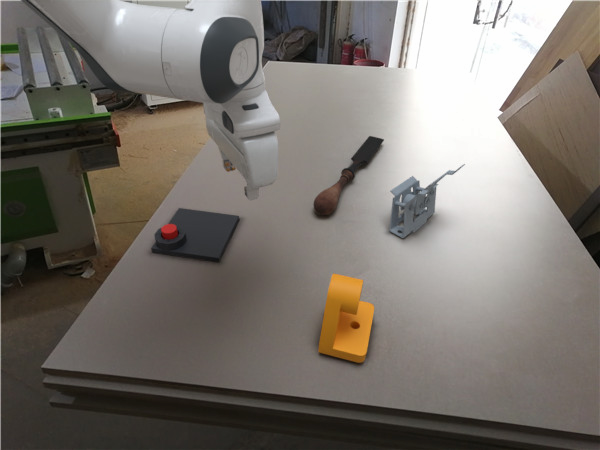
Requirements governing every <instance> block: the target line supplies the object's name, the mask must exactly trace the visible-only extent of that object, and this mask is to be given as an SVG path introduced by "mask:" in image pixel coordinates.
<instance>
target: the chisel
mask: <svg viewBox="0 0 600 450" xmlns="http://www.w3.org/2000/svg"><path fill="white" fill-rule="evenodd" d="M384 141H385V139H384V138H381V137H377V136H373V135H369V136H368V137H367V138H366V139H365V141H364V142H363V143H362V144H361V146H360V147H359V148H358V149H357V151H356V152H355V153H354V154H353V155H352V156H351V158H350V160H351V161H352V164H350V165H349V166H348V167H344V168H343V169H342V170H341V173H340V174H341V175H340V177H339V180H337V182H335V183H334V184H333V185H331V186H330V187H328V188H326V189H323V190H322V191H321V192H320V193H318V194H317V196H315V198H314V200H313V209H314V211H315V213H316V214H317V215H320V216H328V215H330V214H332V213H333V212H334V211H335V209H336V207H337V206H338V203H339V200H340V195H341V192H342V189H343V188H344V186H345V185H346V184H347V183H348V182H352V181H353V180H354V179H355V177H356V174H355V173H356V171H357V169H358V168H359V167H360V166H361V165H367V164H368V163H369V162H370V160H371V159H372V158H373V156H374V155H375V153H376V152H377V151H378V149H379V148H380V146H382V144H383V142H384Z"/></svg>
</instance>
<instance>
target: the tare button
mask: <svg viewBox="0 0 600 450" xmlns="http://www.w3.org/2000/svg"><path fill="white" fill-rule="evenodd" d="M160 228H161V232H162V236H163V238H164V239H167V240H170V239H174V238H176V237H177V236H178V232H177V227H176V226H175V225H174V224H168V223H167V224H164V225H162V226H161V227H160Z"/></svg>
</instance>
